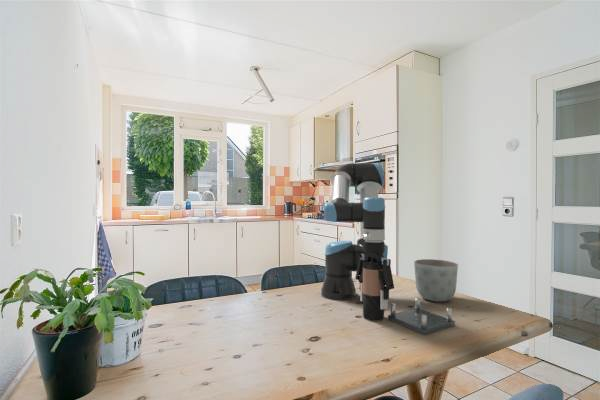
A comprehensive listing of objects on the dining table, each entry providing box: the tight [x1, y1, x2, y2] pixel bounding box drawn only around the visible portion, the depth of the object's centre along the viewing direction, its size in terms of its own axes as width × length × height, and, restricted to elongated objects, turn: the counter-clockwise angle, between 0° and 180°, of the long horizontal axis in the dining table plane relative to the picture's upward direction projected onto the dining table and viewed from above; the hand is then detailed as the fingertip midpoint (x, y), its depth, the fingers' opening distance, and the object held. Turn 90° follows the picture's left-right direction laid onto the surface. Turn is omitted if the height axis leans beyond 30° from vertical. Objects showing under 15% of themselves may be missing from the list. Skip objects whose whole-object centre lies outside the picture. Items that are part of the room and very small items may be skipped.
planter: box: [413, 258, 459, 303], centre depth 135 cm, size 17×17×15 cm
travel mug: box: [362, 260, 385, 322], centre depth 113 cm, size 8×8×20 cm
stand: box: [387, 297, 456, 336], centre depth 108 cm, size 15×15×6 cm
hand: (373, 304), depth 113 cm, fingers open, 9 cm apart
